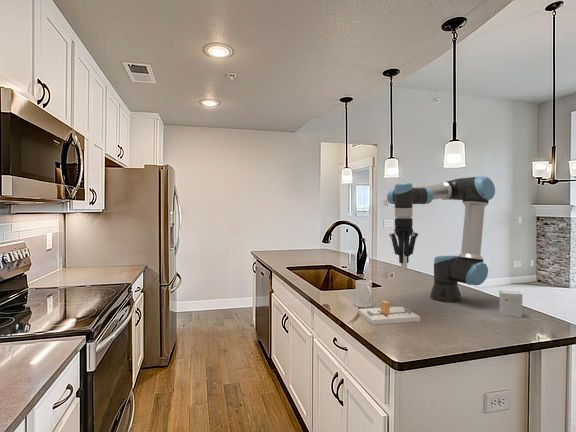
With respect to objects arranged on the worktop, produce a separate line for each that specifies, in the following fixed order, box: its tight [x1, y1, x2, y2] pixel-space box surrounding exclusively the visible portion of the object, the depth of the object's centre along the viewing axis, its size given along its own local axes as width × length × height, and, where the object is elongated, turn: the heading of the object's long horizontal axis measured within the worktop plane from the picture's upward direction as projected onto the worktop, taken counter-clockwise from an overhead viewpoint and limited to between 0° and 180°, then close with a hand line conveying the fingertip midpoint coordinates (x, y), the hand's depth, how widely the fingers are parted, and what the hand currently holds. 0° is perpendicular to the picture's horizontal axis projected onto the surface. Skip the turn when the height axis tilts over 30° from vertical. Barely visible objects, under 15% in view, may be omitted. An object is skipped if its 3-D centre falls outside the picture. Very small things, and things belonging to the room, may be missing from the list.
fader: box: [380, 300, 391, 315], centre depth 156 cm, size 2×4×5 cm, turn 10°
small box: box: [498, 289, 523, 318], centre depth 160 cm, size 8×6×10 cm
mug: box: [354, 279, 373, 308], centre depth 176 cm, size 12×8×12 cm
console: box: [357, 306, 421, 325], centre depth 157 cm, size 22×16×3 cm
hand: (403, 270), depth 157 cm, fingers closed
